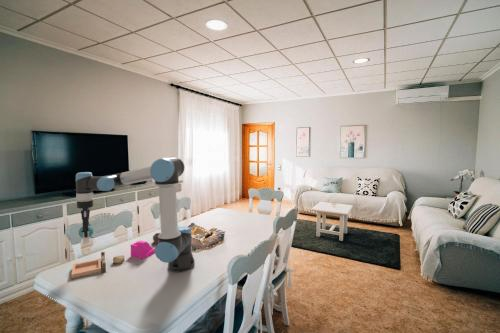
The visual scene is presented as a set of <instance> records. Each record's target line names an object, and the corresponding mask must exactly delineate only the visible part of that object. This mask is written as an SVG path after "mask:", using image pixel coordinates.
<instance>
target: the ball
mask: <svg viewBox="0 0 500 333" xmlns="http://www.w3.org/2000/svg"><path fill="white" fill-rule="evenodd" d="M88 230H89V237H90V238H91V237H92V236H93V235H94V227H92V225H90V226H88ZM81 231H83V226H81V227H80V228H79V230H78V236H79V237H80V238H81V239H83V232H81Z"/></svg>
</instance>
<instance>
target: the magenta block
mask: <svg viewBox="0 0 500 333" xmlns="http://www.w3.org/2000/svg"><path fill="white" fill-rule="evenodd" d="M153 254H155V248H153V247H152V246H151V244H150V243H148V242H147V241H144V240H138V241H136V242H133V243H131V244H130V257H132V258H138V259H140V260H141V259H143V260H144V259H147V258H148V257H150V256H152V255H153Z"/></svg>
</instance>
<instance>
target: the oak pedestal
mask: <svg viewBox="0 0 500 333" xmlns="http://www.w3.org/2000/svg"><path fill="white" fill-rule="evenodd" d="M112 261H113V264H114V265H121V264H124V262H125V255H123V254H119V255H115V256H113V258H112Z"/></svg>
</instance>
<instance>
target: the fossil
mask: <svg viewBox="0 0 500 333" xmlns="http://www.w3.org/2000/svg"><path fill="white" fill-rule="evenodd" d="M160 233H161V232H157V233H154V235H153V236H152V240H153V244H154V245H156V246H157V244H158V235H159V234H160Z"/></svg>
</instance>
